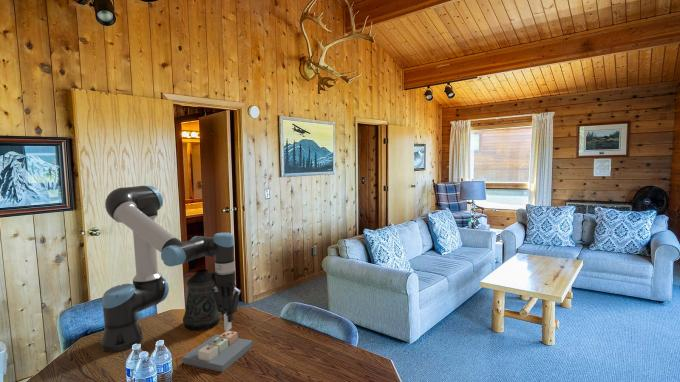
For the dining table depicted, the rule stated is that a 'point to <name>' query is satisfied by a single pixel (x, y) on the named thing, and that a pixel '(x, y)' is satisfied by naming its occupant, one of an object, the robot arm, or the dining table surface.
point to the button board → (219, 355)
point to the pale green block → (220, 344)
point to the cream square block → (208, 353)
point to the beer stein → (201, 302)
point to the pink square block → (229, 337)
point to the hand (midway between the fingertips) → (228, 329)
